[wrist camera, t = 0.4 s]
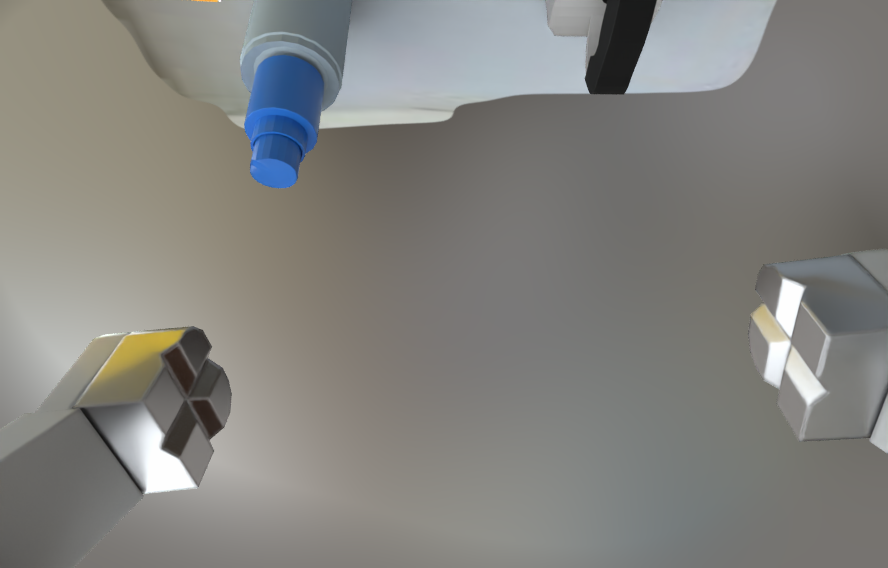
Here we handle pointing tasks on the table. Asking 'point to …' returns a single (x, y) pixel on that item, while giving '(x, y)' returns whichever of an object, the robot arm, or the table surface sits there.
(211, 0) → the packaging box
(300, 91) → the spray bottle
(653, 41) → the table surface
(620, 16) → the iron
